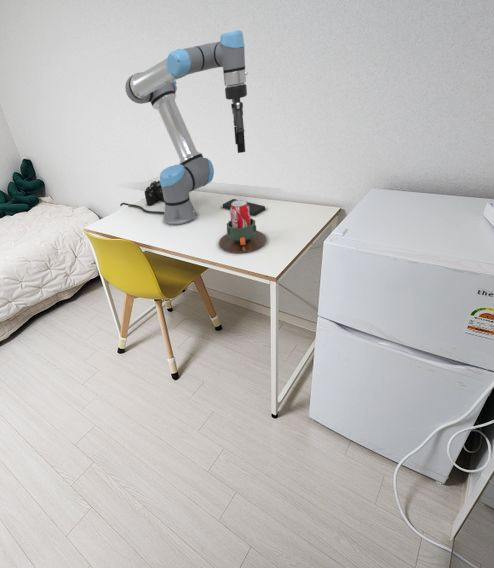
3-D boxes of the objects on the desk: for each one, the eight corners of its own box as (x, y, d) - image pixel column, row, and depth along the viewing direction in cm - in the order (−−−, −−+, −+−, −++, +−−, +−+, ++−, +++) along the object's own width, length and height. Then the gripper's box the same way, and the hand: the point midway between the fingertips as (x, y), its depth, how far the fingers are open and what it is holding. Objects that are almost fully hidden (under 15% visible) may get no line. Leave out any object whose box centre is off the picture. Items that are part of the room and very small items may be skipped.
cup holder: (227, 230, 139) (226, 219, 136) (255, 226, 137) (254, 215, 135) (228, 246, 128) (226, 234, 125) (258, 243, 126) (257, 231, 123)
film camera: (167, 205, 182) (163, 187, 176) (145, 207, 185) (141, 189, 179) (175, 193, 196) (172, 175, 190) (155, 194, 199) (151, 177, 194)
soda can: (250, 236, 130) (248, 205, 123) (231, 237, 132) (228, 207, 125) (251, 227, 135) (249, 198, 129) (233, 228, 137) (230, 199, 131)
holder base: (263, 228, 142) (262, 222, 140) (269, 250, 127) (268, 243, 126) (218, 234, 144) (218, 227, 143) (219, 256, 130) (219, 249, 128)
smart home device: (233, 198, 170) (265, 205, 156) (233, 201, 171) (266, 209, 157) (221, 204, 166) (253, 212, 152) (221, 207, 167) (253, 216, 153)
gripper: (249, 86, 111) (253, 154, 123) (243, 80, 132) (247, 138, 143) (226, 90, 112) (232, 157, 124) (223, 83, 133) (229, 141, 144)
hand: (240, 147), depth 134 cm, fingers open, 13 cm apart
